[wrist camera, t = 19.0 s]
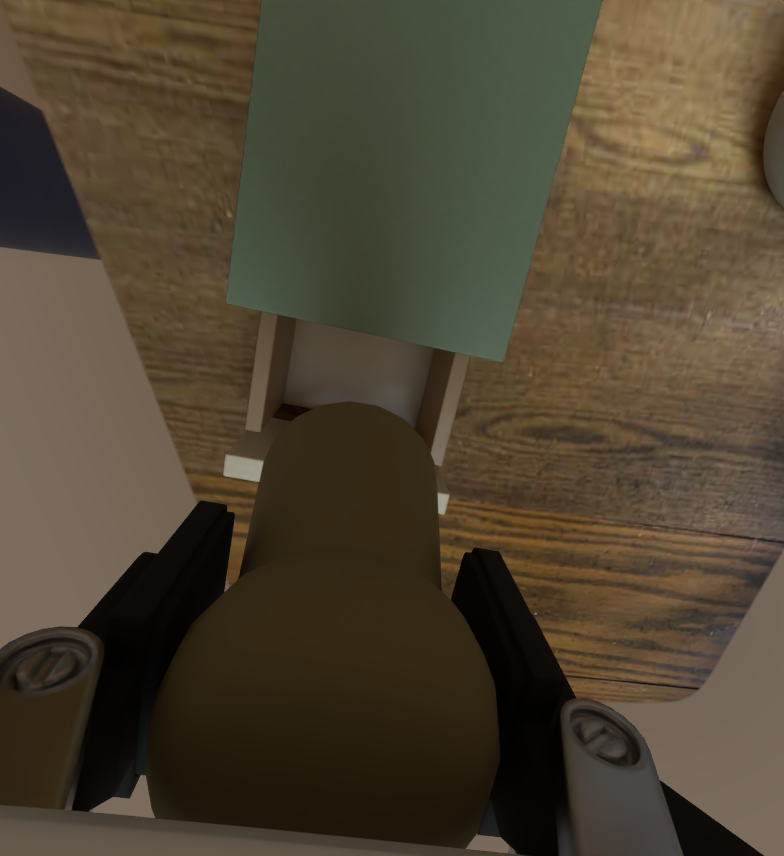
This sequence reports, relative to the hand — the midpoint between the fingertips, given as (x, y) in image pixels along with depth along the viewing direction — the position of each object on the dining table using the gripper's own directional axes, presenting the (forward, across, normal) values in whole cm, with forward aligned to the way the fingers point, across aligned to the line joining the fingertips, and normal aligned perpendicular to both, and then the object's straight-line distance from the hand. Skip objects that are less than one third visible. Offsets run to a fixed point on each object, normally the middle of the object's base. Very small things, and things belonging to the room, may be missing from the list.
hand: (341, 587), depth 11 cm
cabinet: (+22, 0, -12) cm, 25 cm away
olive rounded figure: (+6, 0, 0) cm, 6 cm away
